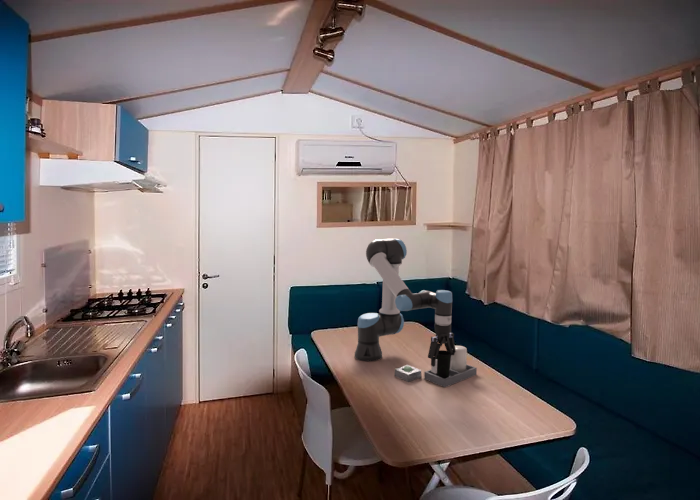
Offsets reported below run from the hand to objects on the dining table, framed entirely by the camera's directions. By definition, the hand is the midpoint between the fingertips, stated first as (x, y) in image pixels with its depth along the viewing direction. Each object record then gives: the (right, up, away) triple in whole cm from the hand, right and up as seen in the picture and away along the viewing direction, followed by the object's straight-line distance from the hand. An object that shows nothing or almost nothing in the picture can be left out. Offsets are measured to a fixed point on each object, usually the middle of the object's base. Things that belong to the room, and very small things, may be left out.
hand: (441, 370), depth 196 cm
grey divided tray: (+5, -4, +4) cm, 8 cm away
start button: (-15, -4, +5) cm, 16 cm away
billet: (+10, -3, +8) cm, 13 cm away
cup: (+1, -4, +1) cm, 4 cm away
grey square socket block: (-15, -5, +5) cm, 17 cm away
